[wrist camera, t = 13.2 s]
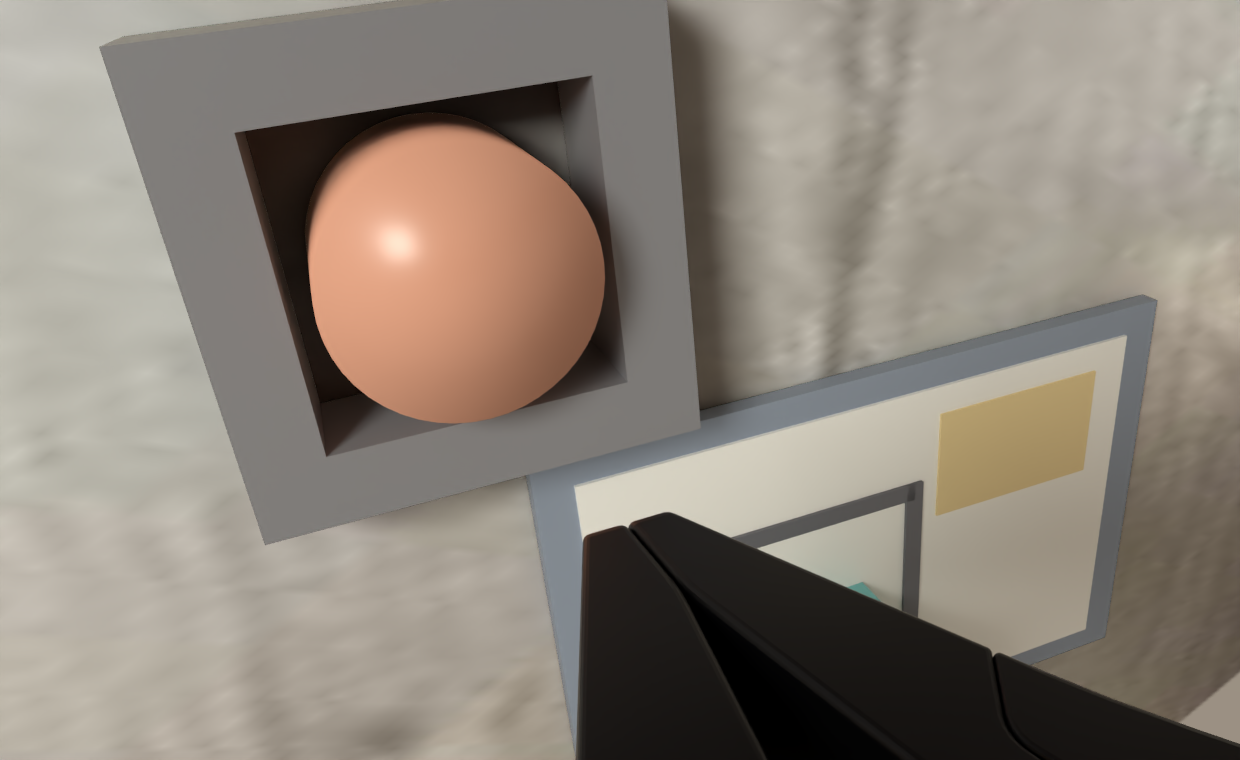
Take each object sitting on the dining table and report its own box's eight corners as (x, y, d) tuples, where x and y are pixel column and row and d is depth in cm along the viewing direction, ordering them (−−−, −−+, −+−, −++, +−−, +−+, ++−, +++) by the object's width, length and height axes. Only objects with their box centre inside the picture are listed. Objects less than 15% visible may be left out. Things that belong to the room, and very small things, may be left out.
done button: (535, 93, 18) (586, 118, 15) (568, 325, 21) (619, 386, 18) (275, 135, 17) (275, 171, 14) (339, 378, 19) (351, 453, 16)
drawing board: (1142, 294, 26) (1163, 302, 25) (1093, 627, 31) (1110, 640, 31) (522, 457, 22) (529, 471, 21) (586, 814, 27) (593, 834, 26)
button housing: (617, -29, 18) (664, -28, 16) (658, 383, 22) (700, 428, 20) (122, 36, 16) (99, 46, 14) (266, 482, 20) (265, 545, 18)
